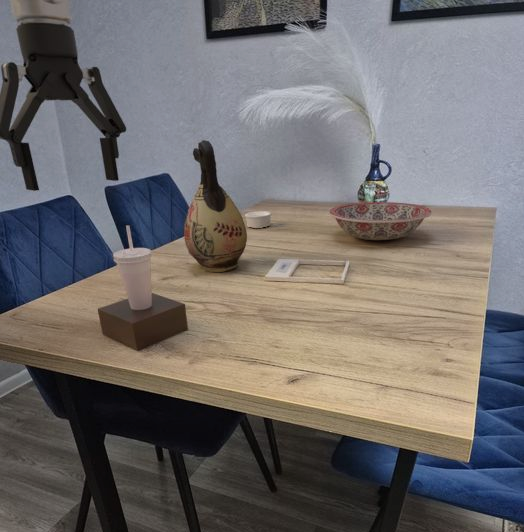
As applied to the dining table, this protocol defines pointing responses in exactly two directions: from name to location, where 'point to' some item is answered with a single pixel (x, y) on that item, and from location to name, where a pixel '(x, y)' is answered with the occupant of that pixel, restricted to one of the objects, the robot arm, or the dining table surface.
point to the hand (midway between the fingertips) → (75, 184)
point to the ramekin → (258, 219)
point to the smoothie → (135, 274)
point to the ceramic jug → (213, 219)
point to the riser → (143, 321)
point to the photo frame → (288, 266)
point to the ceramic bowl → (379, 219)
